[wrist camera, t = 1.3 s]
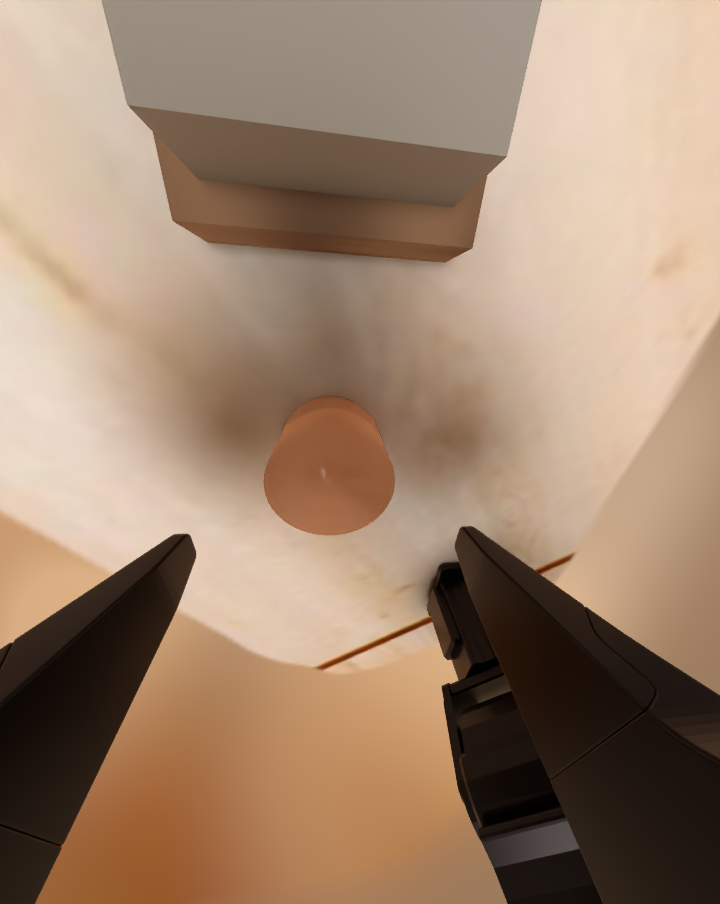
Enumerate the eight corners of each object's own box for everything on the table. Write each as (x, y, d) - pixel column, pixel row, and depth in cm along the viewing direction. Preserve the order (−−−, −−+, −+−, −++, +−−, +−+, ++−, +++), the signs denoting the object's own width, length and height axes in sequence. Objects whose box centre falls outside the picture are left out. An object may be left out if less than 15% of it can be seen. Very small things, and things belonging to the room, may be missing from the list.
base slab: (511, -174, 7) (617, -468, 4) (441, 264, 12) (472, 248, 9) (122, -282, 6) (-43, -750, 3) (212, 245, 11) (172, 220, 8)
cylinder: (383, 397, 14) (402, 428, 10) (374, 482, 16) (387, 533, 13) (278, 394, 13) (254, 426, 9) (287, 482, 16) (271, 536, 12)
